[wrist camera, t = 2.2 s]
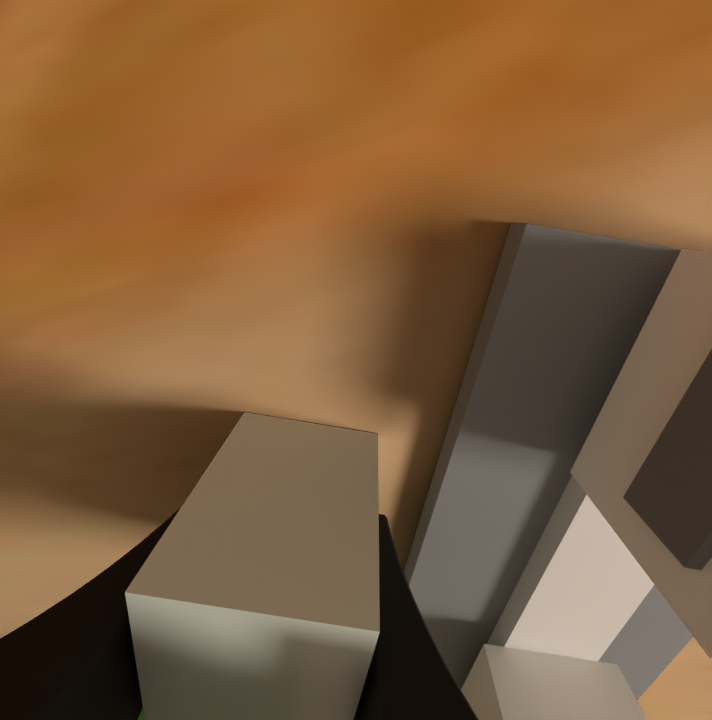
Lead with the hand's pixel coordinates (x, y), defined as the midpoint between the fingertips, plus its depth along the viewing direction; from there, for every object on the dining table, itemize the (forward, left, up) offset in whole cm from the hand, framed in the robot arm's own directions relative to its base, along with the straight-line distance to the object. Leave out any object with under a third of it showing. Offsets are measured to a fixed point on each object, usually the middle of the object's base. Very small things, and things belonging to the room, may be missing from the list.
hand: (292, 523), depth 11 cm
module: (0, 0, -1) cm, 1 cm away
